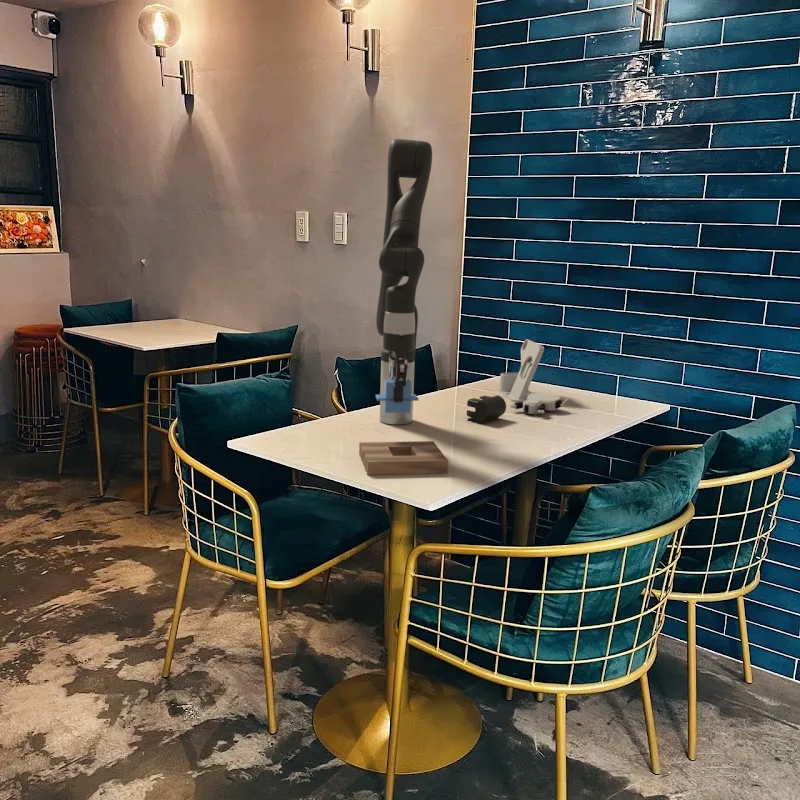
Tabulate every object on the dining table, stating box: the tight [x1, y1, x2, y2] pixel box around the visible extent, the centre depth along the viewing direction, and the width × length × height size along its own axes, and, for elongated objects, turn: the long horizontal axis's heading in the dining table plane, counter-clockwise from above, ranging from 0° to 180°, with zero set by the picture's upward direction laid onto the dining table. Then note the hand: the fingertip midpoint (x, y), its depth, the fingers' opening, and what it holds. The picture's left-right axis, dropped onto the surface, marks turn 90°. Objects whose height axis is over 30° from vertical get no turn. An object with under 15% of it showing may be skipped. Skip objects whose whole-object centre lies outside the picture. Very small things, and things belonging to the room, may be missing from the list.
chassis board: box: [358, 440, 449, 476], centre depth 184 cm, size 16×18×3 cm
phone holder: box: [498, 338, 545, 403], centre depth 260 cm, size 17×10×18 cm, turn 9°
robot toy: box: [509, 392, 568, 416], centre depth 240 cm, size 12×4×15 cm
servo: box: [375, 377, 419, 413], centre depth 195 cm, size 10×4×8 cm, turn 99°
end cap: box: [466, 395, 507, 424], centre depth 227 cm, size 10×7×7 cm
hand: (396, 399), depth 196 cm, fingers closed on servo, 4 cm apart
